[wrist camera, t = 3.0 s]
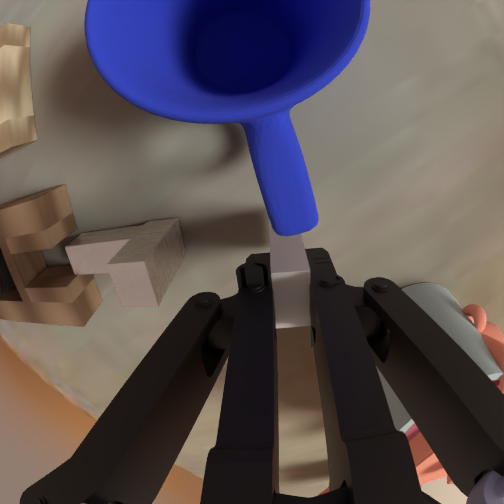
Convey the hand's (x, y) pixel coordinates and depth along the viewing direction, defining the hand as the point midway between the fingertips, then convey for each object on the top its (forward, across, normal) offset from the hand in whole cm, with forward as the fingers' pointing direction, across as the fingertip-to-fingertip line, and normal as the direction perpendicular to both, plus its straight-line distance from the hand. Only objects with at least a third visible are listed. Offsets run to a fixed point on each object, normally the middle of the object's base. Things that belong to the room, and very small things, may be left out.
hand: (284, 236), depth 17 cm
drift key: (+1, -11, 0) cm, 11 cm away
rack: (+2, -22, +14) cm, 26 cm away
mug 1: (+2, -1, +9) cm, 9 cm away
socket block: (+2, -22, 0) cm, 22 cm away
